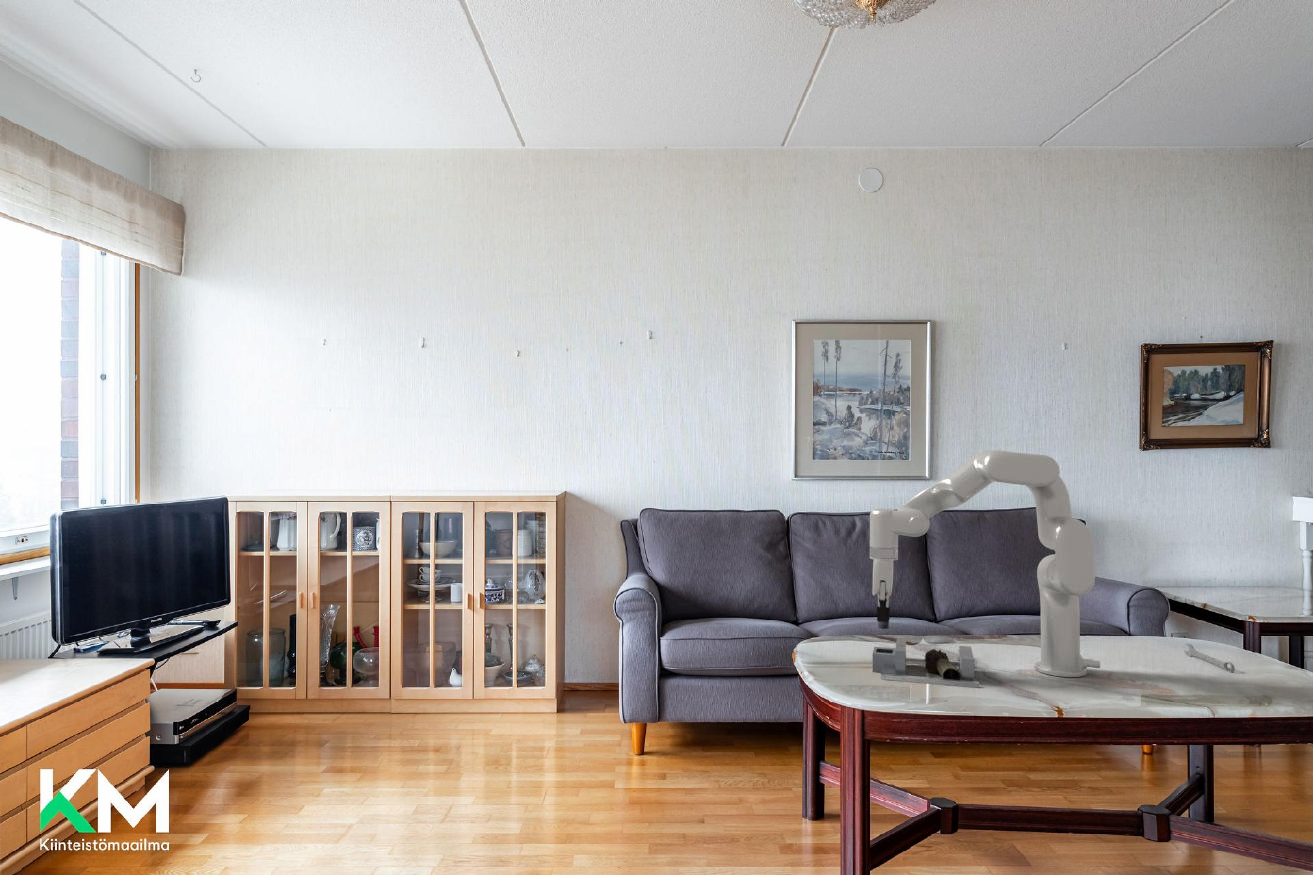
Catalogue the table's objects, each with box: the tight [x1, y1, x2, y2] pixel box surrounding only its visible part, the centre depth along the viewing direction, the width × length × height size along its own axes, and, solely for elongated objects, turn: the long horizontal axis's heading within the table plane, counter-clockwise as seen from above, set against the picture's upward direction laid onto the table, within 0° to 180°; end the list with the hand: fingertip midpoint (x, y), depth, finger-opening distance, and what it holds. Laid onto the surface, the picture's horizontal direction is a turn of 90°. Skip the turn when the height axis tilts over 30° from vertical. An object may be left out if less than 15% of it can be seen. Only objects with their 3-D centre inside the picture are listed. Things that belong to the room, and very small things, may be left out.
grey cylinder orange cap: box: [877, 593, 891, 630], centre depth 216 cm, size 3×3×10 cm
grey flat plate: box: [880, 656, 980, 689], centre depth 212 cm, size 24×20×1 cm
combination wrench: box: [1183, 643, 1236, 673], centre depth 222 cm, size 4×1×20 cm
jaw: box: [957, 645, 975, 681], centre depth 209 cm, size 3×14×6 cm, turn 161°
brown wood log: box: [924, 648, 962, 680], centre depth 211 cm, size 18×7×6 cm, turn 173°
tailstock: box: [872, 638, 907, 676], centre depth 215 cm, size 8×14×7 cm, turn 161°
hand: (883, 619), depth 216 cm, fingers closed on grey cylinder orange cap, 3 cm apart
